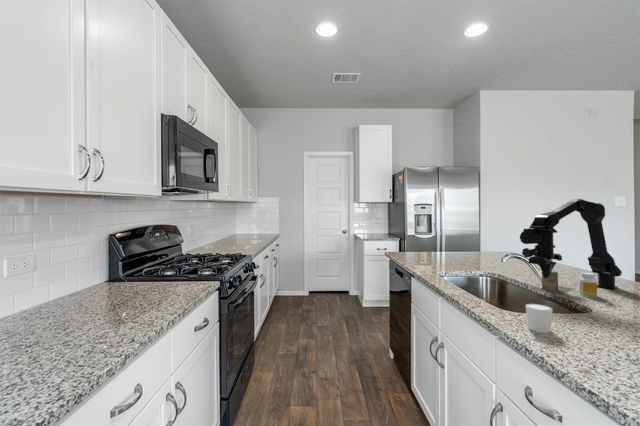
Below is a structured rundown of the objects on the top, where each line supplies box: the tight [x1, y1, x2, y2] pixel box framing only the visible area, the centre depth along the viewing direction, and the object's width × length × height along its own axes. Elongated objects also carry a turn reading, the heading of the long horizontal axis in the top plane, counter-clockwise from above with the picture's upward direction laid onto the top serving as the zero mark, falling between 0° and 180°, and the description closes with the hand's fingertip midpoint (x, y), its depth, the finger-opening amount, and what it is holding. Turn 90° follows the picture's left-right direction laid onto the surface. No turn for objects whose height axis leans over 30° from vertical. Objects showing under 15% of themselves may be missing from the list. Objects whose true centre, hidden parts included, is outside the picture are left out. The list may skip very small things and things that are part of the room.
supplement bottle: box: [579, 272, 598, 298], centre depth 124 cm, size 5×5×10 cm
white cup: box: [525, 303, 553, 334], centre depth 92 cm, size 7×7×7 cm
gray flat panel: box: [532, 285, 575, 295], centre depth 136 cm, size 14×12×1 cm
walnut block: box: [541, 270, 559, 292], centre depth 134 cm, size 4×4×8 cm
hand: (546, 277), depth 132 cm, fingers closed
